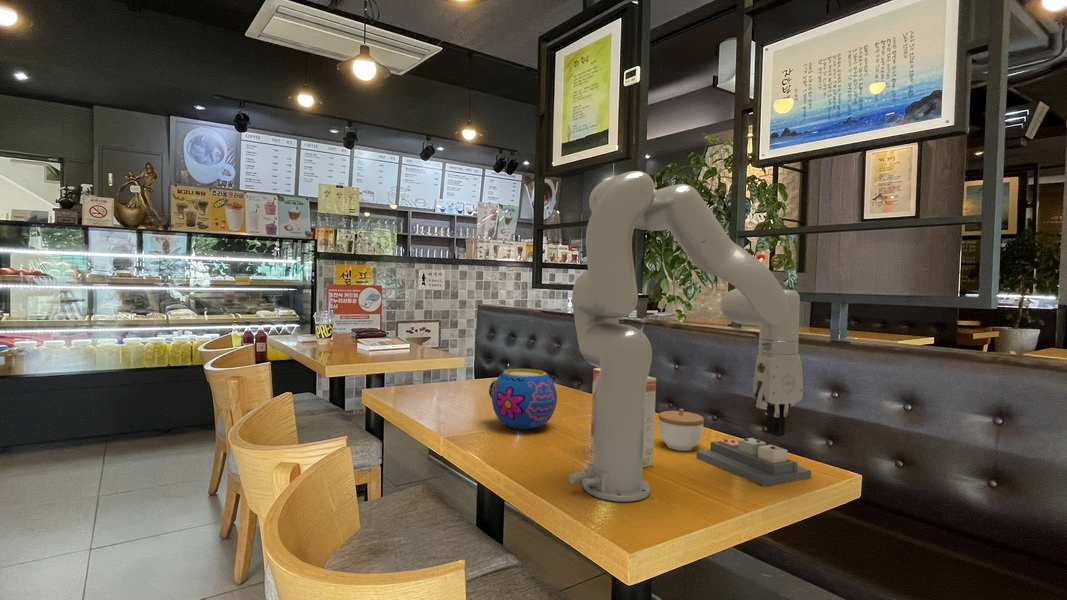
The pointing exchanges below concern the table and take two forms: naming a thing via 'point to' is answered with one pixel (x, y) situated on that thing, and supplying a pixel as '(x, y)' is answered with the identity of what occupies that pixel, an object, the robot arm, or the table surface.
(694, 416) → the lidded jar
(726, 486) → the table surface
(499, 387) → the ceramic pot
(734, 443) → the tile three
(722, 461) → the board
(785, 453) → the tile one
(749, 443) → the tile two
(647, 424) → the coffeecake box
